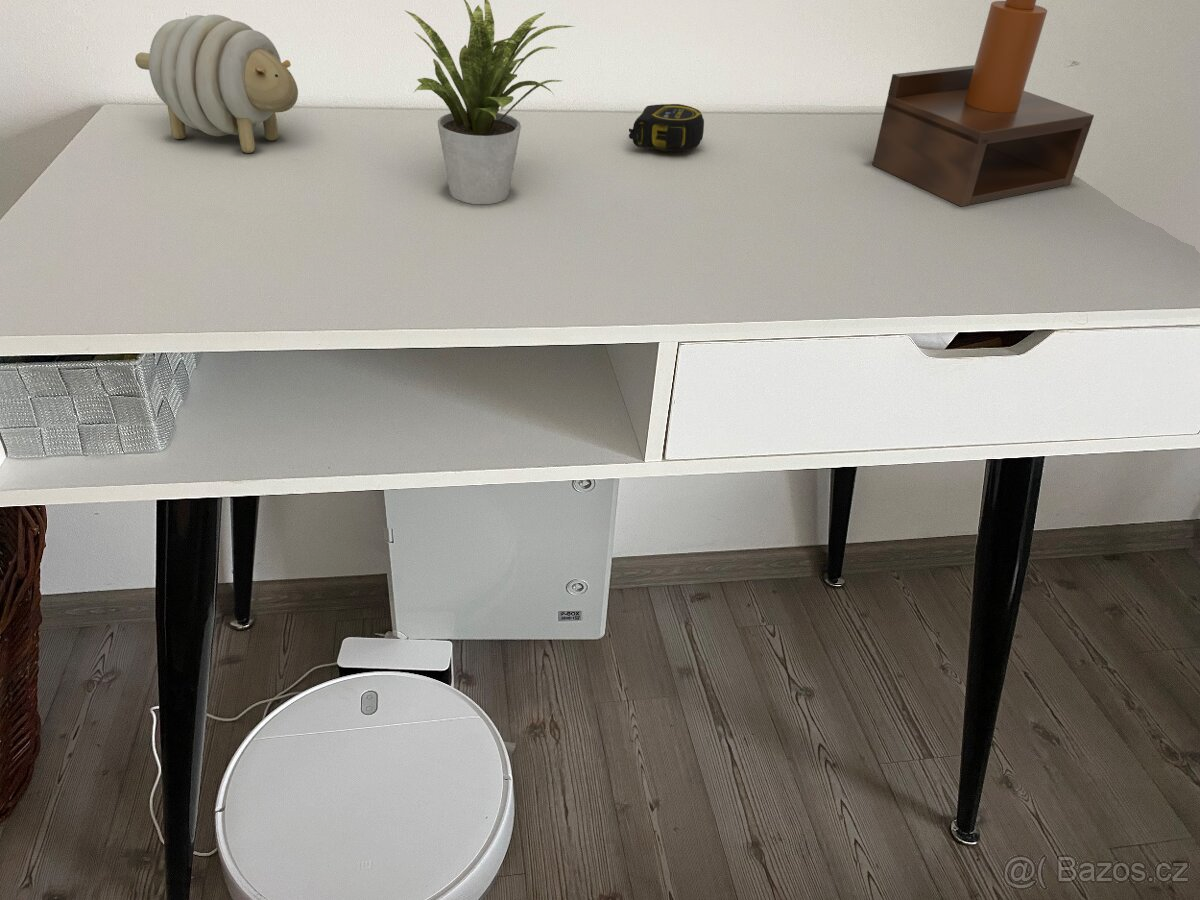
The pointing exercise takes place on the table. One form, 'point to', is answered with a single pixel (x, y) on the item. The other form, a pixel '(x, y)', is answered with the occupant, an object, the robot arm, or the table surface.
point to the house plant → (480, 106)
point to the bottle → (1005, 55)
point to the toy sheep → (219, 77)
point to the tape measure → (668, 127)
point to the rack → (975, 139)
